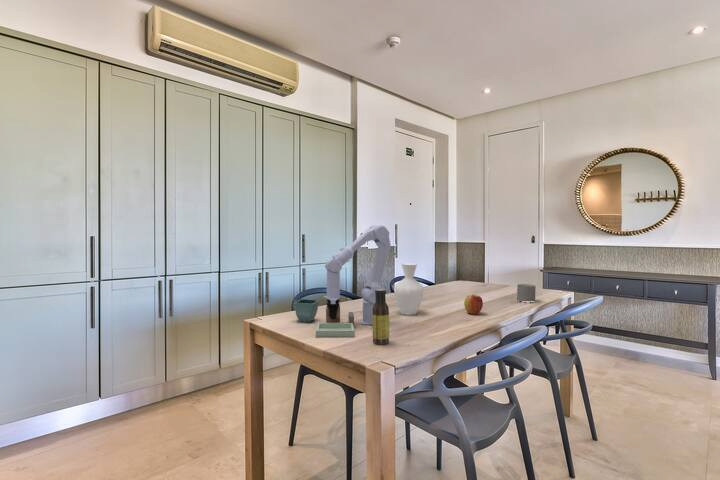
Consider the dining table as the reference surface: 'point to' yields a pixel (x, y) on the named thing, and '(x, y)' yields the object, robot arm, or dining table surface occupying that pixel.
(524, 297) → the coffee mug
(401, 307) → the vase
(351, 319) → the block
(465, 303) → the apple
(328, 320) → the brown block
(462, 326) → the dining table surface
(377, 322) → the sauce bottle
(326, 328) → the tray
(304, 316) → the flower pot
